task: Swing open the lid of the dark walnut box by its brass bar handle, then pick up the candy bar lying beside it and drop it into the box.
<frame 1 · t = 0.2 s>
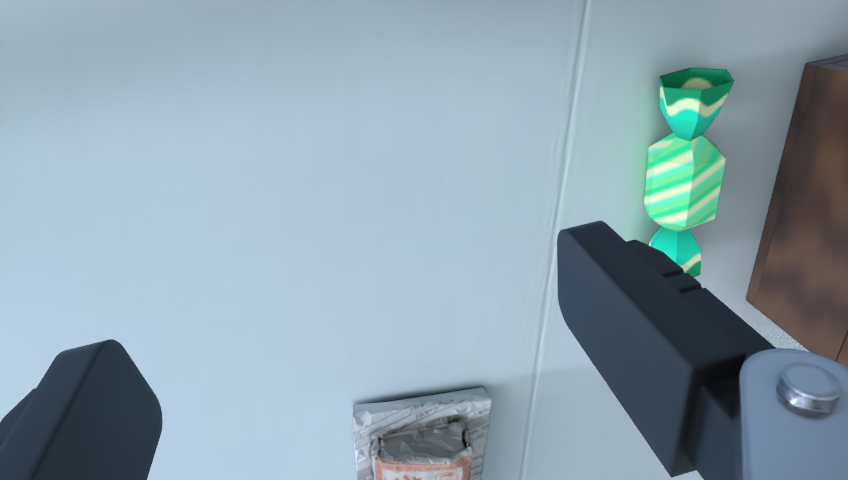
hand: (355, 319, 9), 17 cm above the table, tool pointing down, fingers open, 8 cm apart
chest: (842, 180, 33), on the table
candy: (661, 170, 30), on the table
packaged product: (417, 466, 40), on the table
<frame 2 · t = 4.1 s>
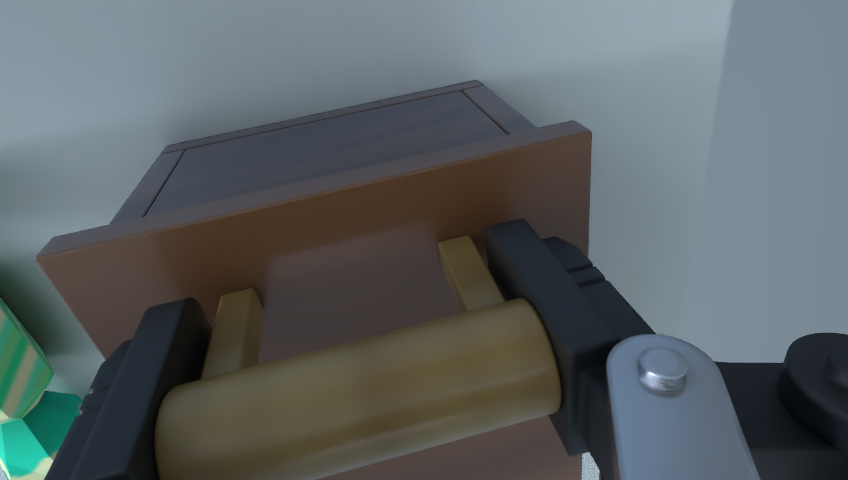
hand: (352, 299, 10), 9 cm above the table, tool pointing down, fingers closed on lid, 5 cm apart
chest: (378, 310, 21), on the table
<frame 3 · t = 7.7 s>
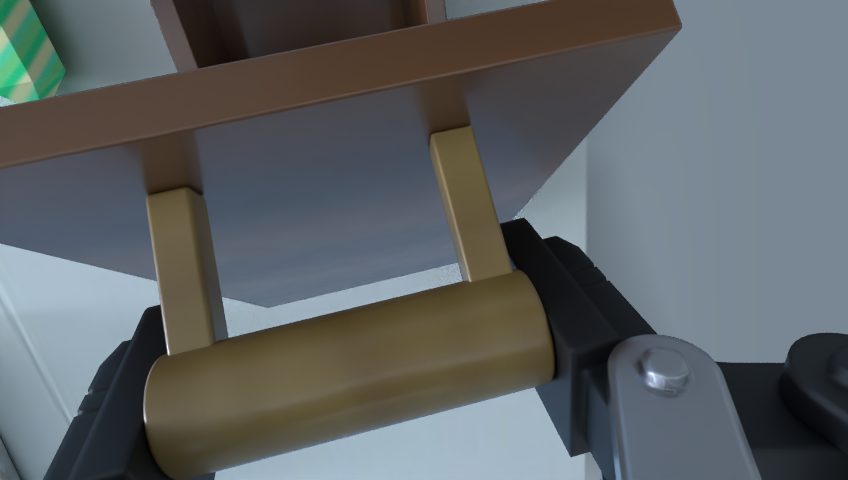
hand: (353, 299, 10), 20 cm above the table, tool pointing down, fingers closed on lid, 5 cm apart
chest: (325, 63, 26), on the table
candy: (22, 31, 23), on the table
lid: (369, 301, 15), point 16 cm above the table, hinge at 48.4°, touching gripper
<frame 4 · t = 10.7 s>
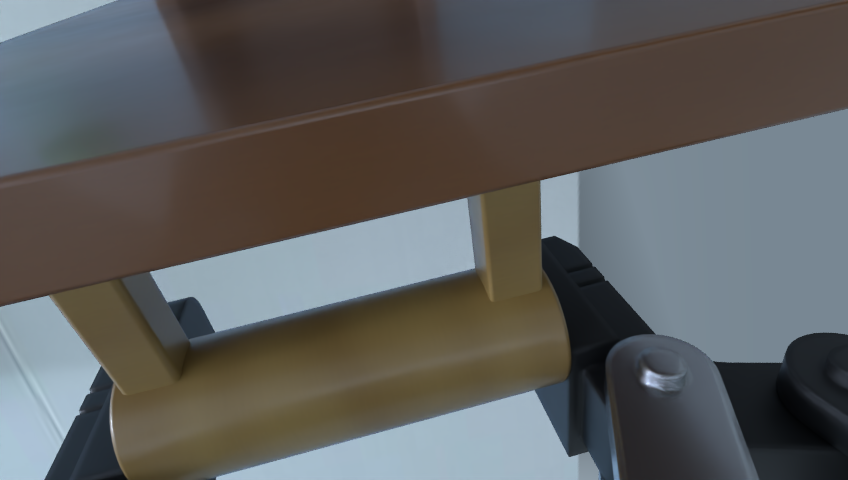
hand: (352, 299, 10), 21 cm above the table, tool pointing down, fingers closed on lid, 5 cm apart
lid: (314, 100, 12), point 17 cm above the table, hinge at 91.9°, touching gripper
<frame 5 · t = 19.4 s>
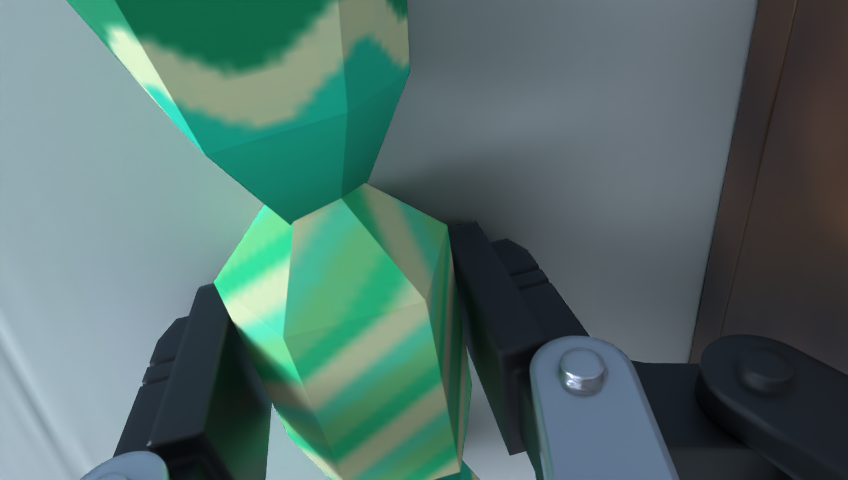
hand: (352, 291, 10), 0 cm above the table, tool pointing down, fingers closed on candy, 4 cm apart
candy: (352, 279, 10), on the table, touching gripper
when the fingers open (7 cm above the table, at t = 39.6 s): candy drops 4 cm, resting on chest.
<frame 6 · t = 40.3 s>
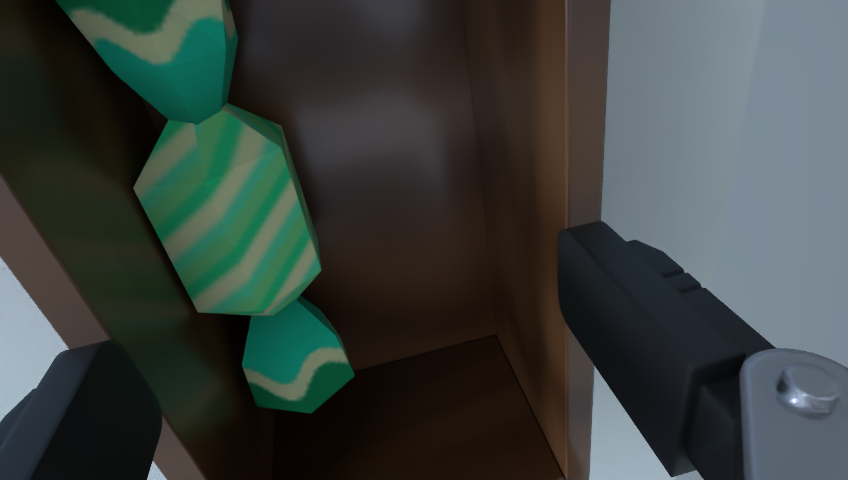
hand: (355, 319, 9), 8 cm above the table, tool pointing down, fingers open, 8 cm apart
chest: (339, 174, 16), on the table
candy: (309, 200, 14), point 3 cm above the table, touching chest
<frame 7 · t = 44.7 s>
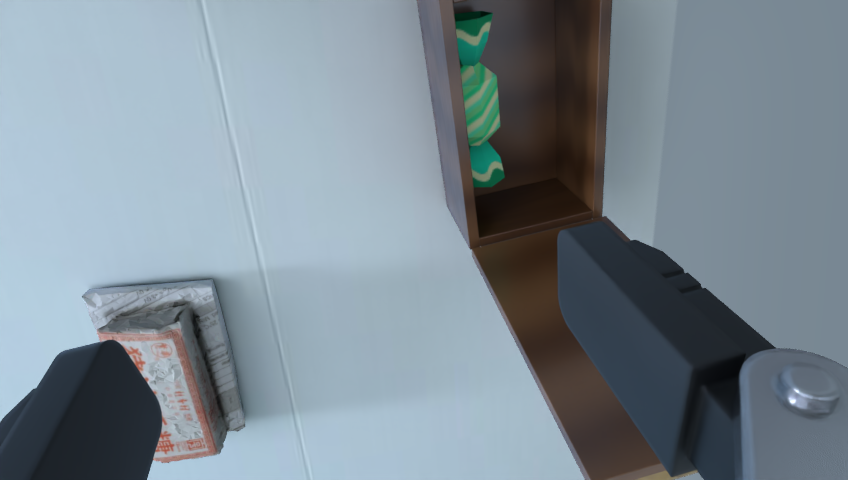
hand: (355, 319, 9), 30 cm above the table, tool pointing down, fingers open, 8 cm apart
chest: (497, 94, 39), on the table
candy: (497, 98, 36), point 3 cm above the table, touching chest
lid: (598, 341, 30), point 17 cm above the table, hinge at 92.4°
packaged product: (177, 358, 46), on the table
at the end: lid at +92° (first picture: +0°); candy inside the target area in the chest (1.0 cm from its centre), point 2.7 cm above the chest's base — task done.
